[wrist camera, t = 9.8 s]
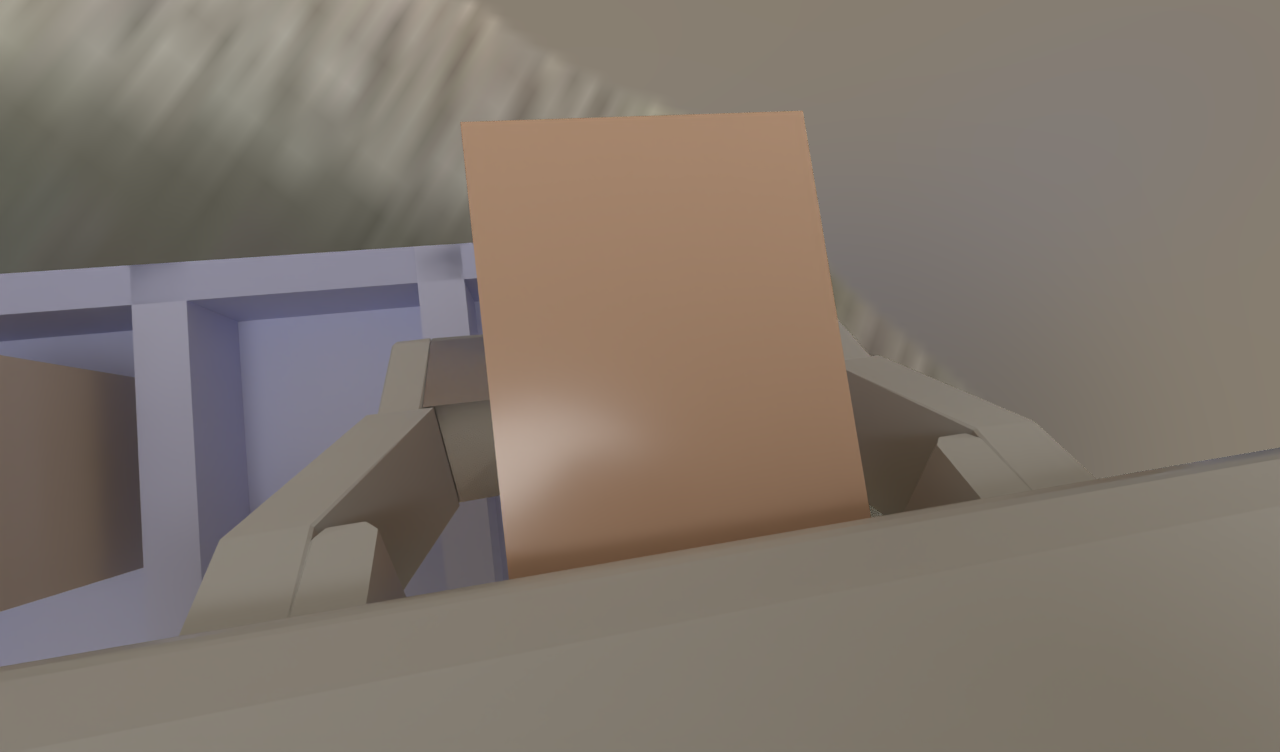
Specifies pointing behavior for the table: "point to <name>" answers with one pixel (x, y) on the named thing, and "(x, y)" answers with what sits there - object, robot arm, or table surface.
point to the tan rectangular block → (657, 335)
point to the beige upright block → (66, 479)
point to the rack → (235, 407)
